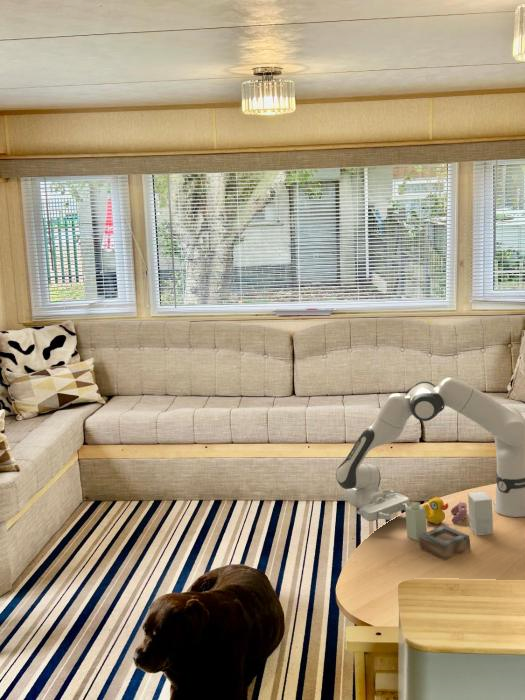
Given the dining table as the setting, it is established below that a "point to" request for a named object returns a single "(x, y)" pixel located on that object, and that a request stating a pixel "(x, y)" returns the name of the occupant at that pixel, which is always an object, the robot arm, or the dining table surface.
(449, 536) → the gray square frame
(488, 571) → the dining table surface
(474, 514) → the small box
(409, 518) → the tower brick
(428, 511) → the duckling
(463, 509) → the video game controller
